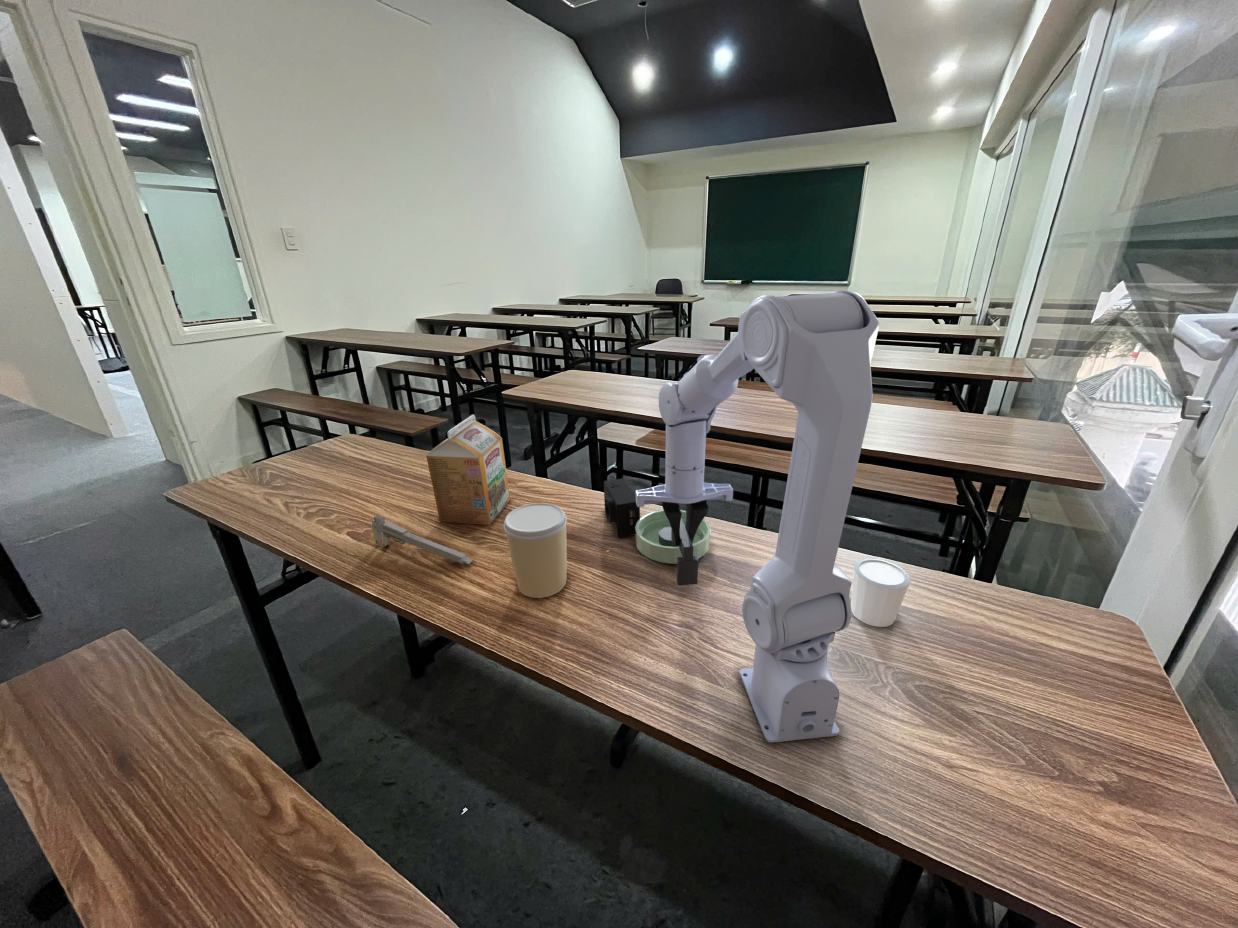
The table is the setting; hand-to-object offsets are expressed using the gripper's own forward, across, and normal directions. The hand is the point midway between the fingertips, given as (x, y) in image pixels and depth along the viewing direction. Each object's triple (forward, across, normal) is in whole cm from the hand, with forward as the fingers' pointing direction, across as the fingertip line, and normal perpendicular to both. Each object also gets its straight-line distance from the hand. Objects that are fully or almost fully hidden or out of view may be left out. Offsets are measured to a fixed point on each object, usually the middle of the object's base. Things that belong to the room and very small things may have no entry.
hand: (682, 541), depth 75 cm
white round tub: (+6, -24, +13) cm, 28 cm away
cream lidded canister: (+6, +22, 0) cm, 23 cm away
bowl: (+6, 0, -8) cm, 10 cm away
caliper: (+6, +44, -11) cm, 46 cm away
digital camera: (+6, +9, -17) cm, 20 cm away
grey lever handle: (+5, 0, -3) cm, 6 cm away
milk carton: (+6, +38, -26) cm, 46 cm away
